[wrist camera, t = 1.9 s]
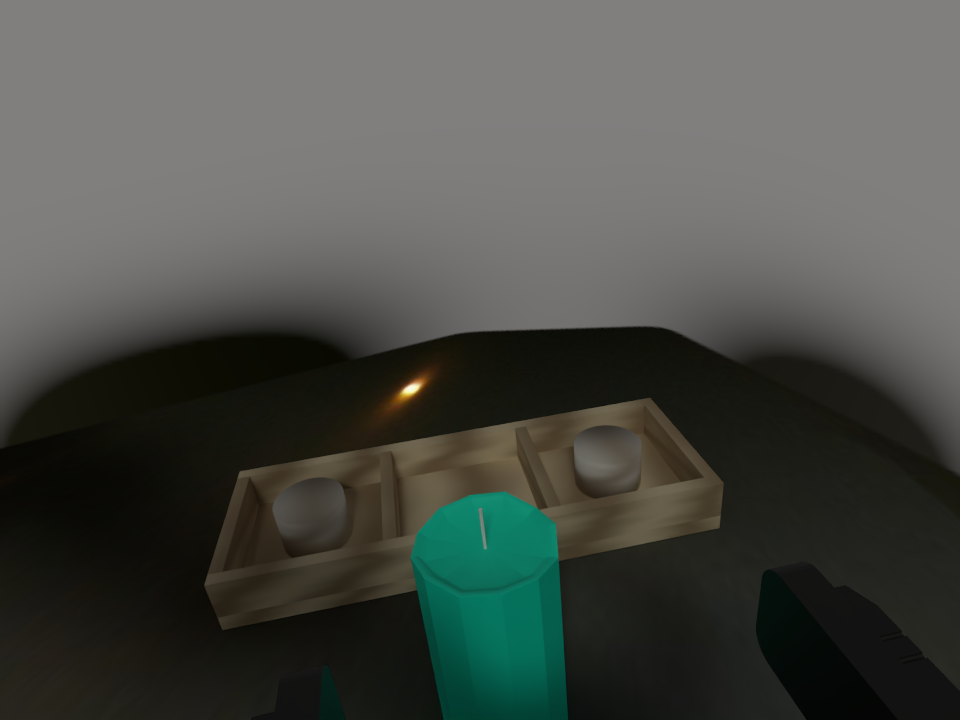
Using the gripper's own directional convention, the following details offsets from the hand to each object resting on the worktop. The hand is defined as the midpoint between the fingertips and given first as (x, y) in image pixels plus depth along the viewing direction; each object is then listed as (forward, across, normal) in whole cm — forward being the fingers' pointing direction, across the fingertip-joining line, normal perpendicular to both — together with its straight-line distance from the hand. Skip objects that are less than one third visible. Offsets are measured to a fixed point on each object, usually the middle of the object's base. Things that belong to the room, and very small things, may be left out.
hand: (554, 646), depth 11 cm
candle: (+11, 0, +18) cm, 21 cm away
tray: (+25, 0, +18) cm, 31 cm away
